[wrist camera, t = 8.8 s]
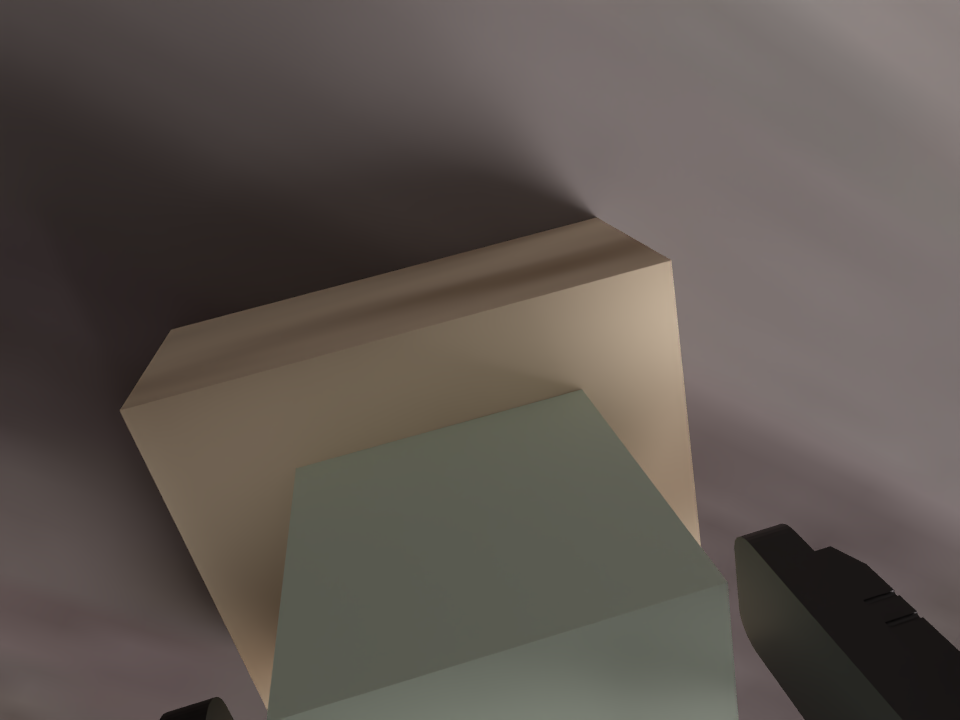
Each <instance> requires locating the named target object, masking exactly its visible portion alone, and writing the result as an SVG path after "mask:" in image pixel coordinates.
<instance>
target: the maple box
mask: <svg viewBox="0 0 960 720" xmlns="http://www.w3.org/2000/svg"><path fill="white" fill-rule="evenodd" d="M581 389H582V390H583V391H584V393H585V394H586V395H587V397H588V398H589V399H590V401H591V402H592V403H593V405H594V406H595V407H596V409H597V410H598V411H599V413H600V414H601V415H602V417H603V418H604V419H605V421H606V422H607V423H608V425H609V426H610V427H611V429H612V430H613V431H614V433H615V434H616V435H617V436H618V438H619V439H620V440H621V442H622V443H623V444H624V446H625V447H626V448H627V450H628V451H629V452H630V454H631V455H632V456H633V458H634V459H635V460H636V462H637V463H638V464H639V466H640V467H641V468H642V470H643V471H644V472H645V474H646V475H647V476H648V478H649V479H650V480H651V482H652V483H653V484H654V486H655V487H656V488H657V489H658V491H659V492H660V493H661V495H662V496H663V497H664V499H665V500H666V501H667V503H668V504H669V505H670V507H671V508H672V509H673V511H674V512H675V513H676V515H677V516H678V517H679V519H680V520H681V521H682V523H683V524H684V525H685V527H686V528H687V529H688V531H689V532H690V533H691V535H692V536H693V537H694V539H695V540H696V541H697V542H698V544H699V545H700V546H701V544H700V534H699V524H698V514H697V505H696V495H695V485H694V476H693V466H692V456H691V447H690V437H689V427H688V417H687V408H686V398H685V388H684V379H683V369H682V359H681V349H680V340H679V330H678V320H677V311H676V301H675V291H674V282H673V272H672V262H671V260H670V259H668V258H666V257H665V256H663V255H661V254H659V253H658V252H656V251H654V250H652V249H651V248H649V247H647V246H645V245H644V244H642V243H640V242H639V241H637V240H635V239H633V238H632V237H630V236H628V235H626V234H625V233H623V232H621V231H619V230H618V229H616V228H614V227H612V226H611V225H609V224H607V223H605V222H604V221H602V220H600V219H599V218H593V219H589V220H585V221H581V222H578V223H574V224H570V225H566V226H562V227H559V228H555V229H551V230H547V231H543V232H540V233H536V234H532V235H528V236H524V237H521V238H517V239H513V240H509V241H505V242H502V243H498V244H494V245H490V246H487V247H483V248H479V249H475V250H471V251H468V252H464V253H460V254H456V255H452V256H449V257H445V258H441V259H437V260H433V261H430V262H426V263H422V264H418V265H414V266H411V267H407V268H403V269H399V270H395V271H392V272H388V273H384V274H380V275H376V276H373V277H369V278H365V279H361V280H357V281H354V282H350V283H346V284H342V285H339V286H335V287H331V288H327V289H323V290H320V291H316V292H312V293H308V294H304V295H301V296H297V297H293V298H289V299H285V300H282V301H278V302H274V303H270V304H266V305H263V306H259V307H255V308H251V309H247V310H244V311H240V312H236V313H232V314H228V315H225V316H221V317H217V318H213V319H209V320H206V321H202V322H198V323H194V324H191V325H187V326H183V327H179V328H175V329H172V330H170V332H169V334H168V335H167V337H166V338H165V340H164V341H163V343H162V345H161V346H160V348H159V349H158V351H157V352H156V354H155V356H154V357H153V359H152V360H151V362H150V363H149V365H148V367H147V368H146V370H145V371H144V373H143V374H142V376H141V378H140V379H139V381H138V382H137V384H136V385H135V387H134V389H133V390H132V392H131V393H130V395H129V396H128V398H127V400H126V401H125V403H124V404H123V406H122V407H121V409H120V413H121V415H122V417H123V419H124V421H125V423H126V425H127V427H128V429H129V431H130V433H131V435H132V437H133V439H134V441H135V443H136V445H137V447H138V449H139V451H140V453H141V455H142V457H143V459H144V461H145V463H146V465H147V467H148V469H149V471H150V473H151V475H152V477H153V479H154V481H155V483H156V485H157V487H158V489H159V492H160V494H161V496H162V498H163V500H164V502H165V504H166V506H167V508H168V510H169V512H170V514H171V516H172V518H173V520H174V522H175V524H176V526H177V528H178V530H179V532H180V534H181V536H182V538H183V540H184V542H185V544H186V546H187V548H188V550H189V552H190V554H191V556H192V558H193V560H194V562H195V564H196V566H197V568H198V571H199V573H200V575H201V577H202V579H203V581H204V583H205V585H206V587H207V589H208V591H209V593H210V595H211V597H212V599H213V601H214V603H215V605H216V607H217V609H218V611H219V613H220V615H221V617H222V619H223V621H224V623H225V625H226V627H227V629H228V631H229V633H230V635H231V637H232V639H233V641H234V643H235V645H236V647H237V650H238V652H239V654H240V656H241V658H242V660H243V662H244V664H245V666H246V668H247V670H248V672H249V674H250V676H251V678H252V680H253V682H254V684H255V686H256V688H257V690H258V692H259V694H260V696H261V698H262V700H263V702H264V704H265V706H266V708H267V710H268V703H269V694H270V686H271V677H272V669H273V660H274V652H275V643H276V635H277V626H278V618H279V609H280V600H281V592H282V583H283V575H284V566H285V558H286V549H287V541H288V532H289V524H290V515H291V506H292V498H293V489H294V481H295V472H296V468H299V467H303V466H307V465H310V464H314V463H317V462H321V461H325V460H328V459H332V458H335V457H339V456H342V455H346V454H350V453H353V452H357V451H361V450H364V449H368V448H371V447H375V446H379V445H382V444H386V443H389V442H393V441H397V440H400V439H404V438H408V437H411V436H415V435H418V434H422V433H426V432H429V431H433V430H437V429H440V428H444V427H447V426H451V425H455V424H458V423H462V422H465V421H469V420H473V419H476V418H480V417H484V416H487V415H491V414H494V413H498V412H502V411H505V410H509V409H512V408H516V407H520V406H523V405H527V404H531V403H534V402H538V401H541V400H545V399H549V398H552V397H556V396H560V395H563V394H567V393H570V392H574V391H578V390H581Z"/></svg>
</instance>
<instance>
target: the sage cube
mask: <svg viewBox="0 0 960 720" xmlns="http://www.w3.org/2000/svg"><path fill="white" fill-rule="evenodd" d="M267 720H738V708H737V695H736V683H735V670H734V657H733V645H732V632H731V620H730V607H729V595H728V582H727V581H726V580H725V578H724V577H723V576H722V574H721V573H720V572H719V570H718V569H717V568H716V566H715V565H714V564H713V562H712V561H711V560H710V558H709V557H708V556H707V554H706V553H705V552H704V550H703V549H702V548H701V546H700V545H699V544H698V542H697V541H696V540H695V539H694V537H693V536H692V535H691V533H690V532H689V531H688V529H687V528H686V527H685V525H684V524H683V523H682V521H681V520H680V519H679V517H678V516H677V515H676V513H675V512H674V511H673V509H672V508H671V507H670V505H669V504H668V503H667V501H666V500H665V499H664V497H663V496H662V495H661V493H660V492H659V491H658V489H657V488H656V487H655V486H654V484H653V483H652V482H651V480H650V479H649V478H648V476H647V475H646V474H645V472H644V471H643V470H642V468H641V467H640V466H639V464H638V463H637V462H636V460H635V459H634V458H633V456H632V455H631V454H630V452H629V451H628V450H627V448H626V447H625V446H624V444H623V443H622V442H621V440H620V439H619V438H618V436H617V435H616V434H615V433H614V431H613V430H612V429H611V427H610V426H609V425H608V423H607V422H606V421H605V419H604V418H603V417H602V415H601V414H600V413H599V411H598V410H597V409H596V407H595V406H594V405H593V403H592V402H591V401H590V399H589V398H588V397H587V395H586V394H585V393H584V391H583V390H582V389H581V390H578V391H574V392H570V393H567V394H563V395H560V396H556V397H552V398H549V399H545V400H541V401H538V402H534V403H531V404H527V405H523V406H520V407H516V408H512V409H509V410H505V411H502V412H498V413H494V414H491V415H487V416H484V417H480V418H476V419H473V420H469V421H465V422H462V423H458V424H455V425H451V426H447V427H444V428H440V429H437V430H433V431H429V432H426V433H422V434H418V435H415V436H411V437H408V438H404V439H400V440H397V441H393V442H389V443H386V444H382V445H379V446H375V447H371V448H368V449H364V450H361V451H357V452H353V453H350V454H346V455H342V456H339V457H335V458H332V459H328V460H325V461H321V462H317V463H314V464H310V465H307V466H303V467H299V468H296V472H295V481H294V489H293V498H292V506H291V515H290V524H289V532H288V541H287V549H286V558H285V566H284V575H283V583H282V592H281V600H280V609H279V618H278V626H277V635H276V643H275V652H274V660H273V669H272V677H271V686H270V694H269V703H268V712H267Z"/></svg>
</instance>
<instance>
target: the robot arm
mask: <svg viewBox="0 0 960 720" xmlns="http://www.w3.org/2000/svg"><path fill="white" fill-rule="evenodd" d="M734 550H735V562H736V574H737V587H738V599H739V610H740V616H741V619H742V623H743V626H744V629H745V631H746V634H747V636H748V638H749V640H750V642H751V644H752V646H753V647H754V649H755V651H756V652H757V654H758V655H759V656H760V658H761V659H762V661H763V662H764V663H765V665H766V666H767V668H768V669H769V670H770V672H771V673H772V674H773V676H774V677H775V679H776V680H777V681H778V683H779V684H780V686H781V687H782V688H783V690H784V691H785V693H786V694H787V695H788V697H789V698H790V700H791V701H792V702H793V704H794V705H795V707H796V708H797V709H798V711H799V712H800V714H801V715H802V716H803V718H804V719H805V720H960V651H958V650H957V649H956V648H955V647H954V646H953V645H952V644H951V643H950V642H949V641H948V640H947V639H946V638H945V637H944V636H942V635H941V634H940V633H939V632H938V631H937V630H936V629H935V628H934V627H933V626H932V625H931V624H930V623H929V622H928V621H926V620H925V619H924V618H923V617H922V618H920V617H919V616H918V614H917V611H916V610H915V609H914V608H913V607H912V606H910V605H909V604H908V603H907V602H906V601H905V600H904V599H903V598H902V597H901V596H900V595H899V596H897V595H896V594H895V592H894V590H893V589H892V588H891V587H890V586H889V585H888V584H887V583H886V582H885V581H884V580H883V579H882V578H881V577H879V576H878V575H877V574H876V573H875V572H874V571H873V570H872V569H871V568H870V567H869V566H868V565H867V564H865V563H863V562H861V561H859V560H857V559H855V558H853V557H851V556H849V555H847V554H845V553H843V552H841V551H839V550H837V549H835V548H833V547H831V546H830V547H827V548H824V549H821V550H817V551H814V550H813V549H812V548H811V547H810V546H809V545H808V544H807V543H806V542H805V541H804V540H803V539H802V538H801V537H800V536H799V535H798V534H797V533H796V532H795V531H794V530H793V529H792V528H791V527H789V526H788V525H786V524H779V525H776V526H773V527H770V528H766V529H763V530H760V531H757V532H753V533H750V534H747V535H744V536H741V537H738V538H736V540H735V545H734ZM160 720H233V718H232V716H231V714H230V712H229V710H228V708H227V706H226V705H225V703H224V702H223V700H222V699H220V698H219V697H215V698H211V699H208V700H205V701H202V702H199V703H195V704H192V705H189V706H186V707H182V708H179V709H176V710H173V711H170V712H166V713H165V714H163V715H162V717H161V718H160Z"/></svg>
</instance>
